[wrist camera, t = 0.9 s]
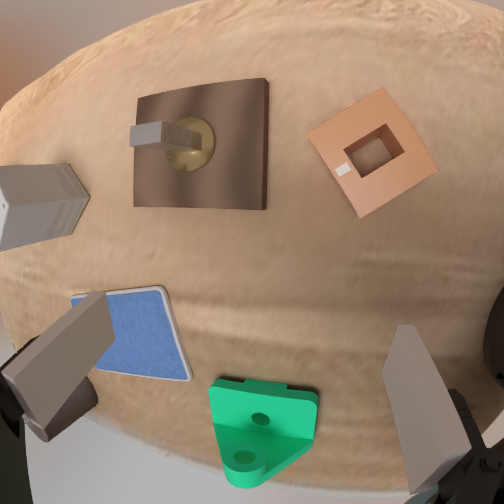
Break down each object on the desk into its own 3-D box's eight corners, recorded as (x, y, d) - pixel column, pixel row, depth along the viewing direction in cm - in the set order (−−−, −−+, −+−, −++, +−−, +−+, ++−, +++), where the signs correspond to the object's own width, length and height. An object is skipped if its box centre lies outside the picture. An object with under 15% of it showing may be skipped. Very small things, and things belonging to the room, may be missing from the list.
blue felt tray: (99, 367, 40) (94, 370, 39) (72, 294, 39) (66, 296, 37) (197, 377, 34) (192, 383, 33) (167, 282, 32) (161, 285, 31)
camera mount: (320, 386, 29) (304, 456, 19) (315, 432, 30) (298, 498, 20) (216, 372, 32) (172, 427, 23) (222, 418, 34) (186, 472, 24)
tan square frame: (377, 106, 22) (384, 86, 17) (421, 173, 22) (439, 169, 17) (313, 145, 24) (305, 134, 19) (357, 213, 24) (360, 218, 19)
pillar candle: (100, 414, 43) (49, 456, 29) (67, 389, 46) (16, 423, 32) (95, 378, 41) (33, 421, 27) (60, 352, 43) (1, 386, 29)
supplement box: (69, 162, 34) (-8, 163, 22) (91, 197, 33) (8, 206, 21) (50, 201, 36) (-19, 210, 24) (71, 236, 36) (-3, 254, 24)
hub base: (268, 83, 24) (236, 44, 16) (266, 209, 27) (230, 217, 19) (146, 101, 28) (92, 83, 20) (142, 205, 31) (84, 213, 23)
